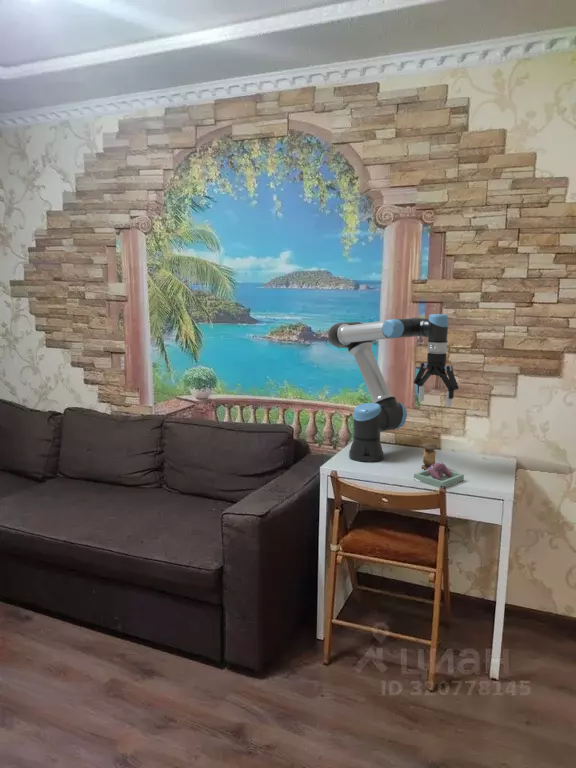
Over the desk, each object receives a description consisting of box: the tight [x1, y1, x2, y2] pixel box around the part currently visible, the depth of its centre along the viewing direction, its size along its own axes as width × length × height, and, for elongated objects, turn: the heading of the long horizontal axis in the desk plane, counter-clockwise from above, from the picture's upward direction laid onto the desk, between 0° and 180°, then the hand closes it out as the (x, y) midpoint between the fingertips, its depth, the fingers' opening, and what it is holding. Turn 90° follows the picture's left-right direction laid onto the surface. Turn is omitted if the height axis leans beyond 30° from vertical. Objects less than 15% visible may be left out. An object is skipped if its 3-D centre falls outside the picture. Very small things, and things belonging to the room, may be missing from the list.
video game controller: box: [428, 462, 452, 481], centre depth 223 cm, size 10×5×7 cm, turn 135°
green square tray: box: [413, 469, 465, 489], centre depth 223 cm, size 13×14×2 cm
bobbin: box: [421, 443, 438, 471], centre depth 236 cm, size 6×6×10 cm
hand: (434, 403), depth 237 cm, fingers open, 13 cm apart
